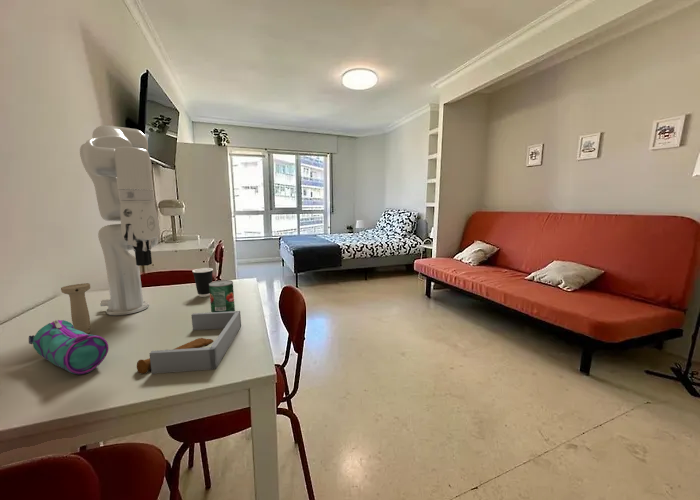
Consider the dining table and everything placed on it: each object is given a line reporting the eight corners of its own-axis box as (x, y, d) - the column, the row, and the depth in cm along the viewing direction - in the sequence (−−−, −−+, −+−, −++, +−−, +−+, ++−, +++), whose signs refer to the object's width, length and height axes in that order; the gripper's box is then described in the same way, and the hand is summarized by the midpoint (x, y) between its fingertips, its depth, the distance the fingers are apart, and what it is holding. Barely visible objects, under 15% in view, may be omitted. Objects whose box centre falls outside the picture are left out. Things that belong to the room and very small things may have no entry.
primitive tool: (201, 339, 88) (200, 327, 88) (215, 342, 86) (214, 330, 86) (134, 374, 71) (132, 360, 70) (150, 379, 69) (148, 364, 68)
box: (151, 373, 70) (149, 353, 69) (194, 328, 95) (192, 313, 94) (216, 369, 72) (214, 349, 71) (241, 326, 97) (240, 310, 96)
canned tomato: (209, 311, 109) (206, 282, 108) (231, 307, 114) (229, 278, 112) (214, 318, 103) (211, 287, 101) (237, 313, 108) (235, 283, 106)
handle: (98, 333, 92) (91, 285, 90) (69, 340, 88) (61, 289, 85) (95, 328, 96) (89, 282, 93) (68, 335, 91) (60, 286, 89)
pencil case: (31, 361, 76) (25, 324, 75) (76, 346, 84) (70, 313, 83) (67, 384, 66) (60, 342, 65) (114, 365, 74) (108, 327, 73)
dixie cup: (219, 294, 131) (217, 269, 129) (201, 299, 124) (199, 272, 122) (208, 291, 135) (206, 267, 133) (190, 295, 128) (188, 270, 127)
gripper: (136, 197, 73) (144, 271, 76) (165, 196, 87) (171, 258, 91) (102, 196, 72) (111, 272, 75) (137, 196, 86) (144, 259, 90)
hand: (144, 264), depth 83 cm, fingers closed
